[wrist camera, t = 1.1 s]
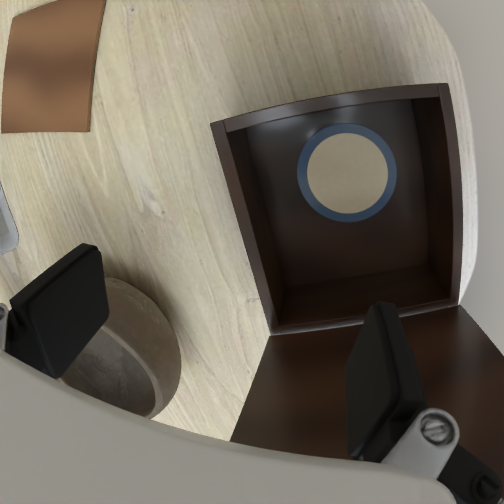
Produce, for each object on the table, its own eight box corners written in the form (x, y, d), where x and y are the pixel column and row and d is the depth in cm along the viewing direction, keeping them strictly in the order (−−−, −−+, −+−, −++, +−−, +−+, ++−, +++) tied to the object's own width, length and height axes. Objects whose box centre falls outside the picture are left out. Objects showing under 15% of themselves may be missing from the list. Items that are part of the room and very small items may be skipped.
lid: (187, 536, 8) (224, 572, 9) (577, 468, 4) (531, 524, 5) (269, 335, 25) (280, 385, 26) (460, 304, 21) (456, 358, 22)
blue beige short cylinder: (306, 112, 23) (306, 112, 19) (390, 132, 22) (407, 138, 18) (291, 194, 26) (288, 211, 22) (371, 212, 25) (382, 232, 21)
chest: (233, 119, 25) (209, 123, 19) (415, 87, 21) (448, 82, 15) (279, 290, 31) (270, 335, 25) (433, 265, 27) (458, 305, 21)
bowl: (81, 232, 33) (24, 274, 24) (217, 304, 33) (187, 371, 24) (73, 328, 41) (36, 371, 32) (177, 386, 41) (152, 441, 32)
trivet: (15, 18, 21) (12, 17, 21) (109, -13, 20) (106, -14, 19) (4, 132, 29) (1, 133, 28) (90, 131, 27) (86, 132, 27)
